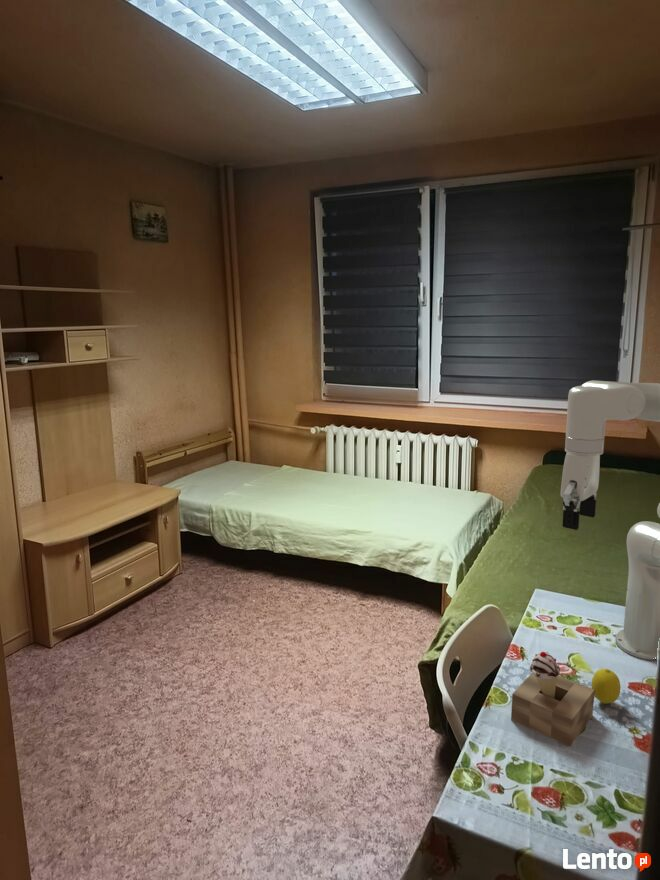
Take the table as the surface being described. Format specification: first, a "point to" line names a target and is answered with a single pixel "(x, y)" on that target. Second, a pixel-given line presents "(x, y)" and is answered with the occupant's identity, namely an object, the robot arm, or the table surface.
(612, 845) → the table surface
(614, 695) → the lemon
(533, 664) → the ice cream cone
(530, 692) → the cone stand
